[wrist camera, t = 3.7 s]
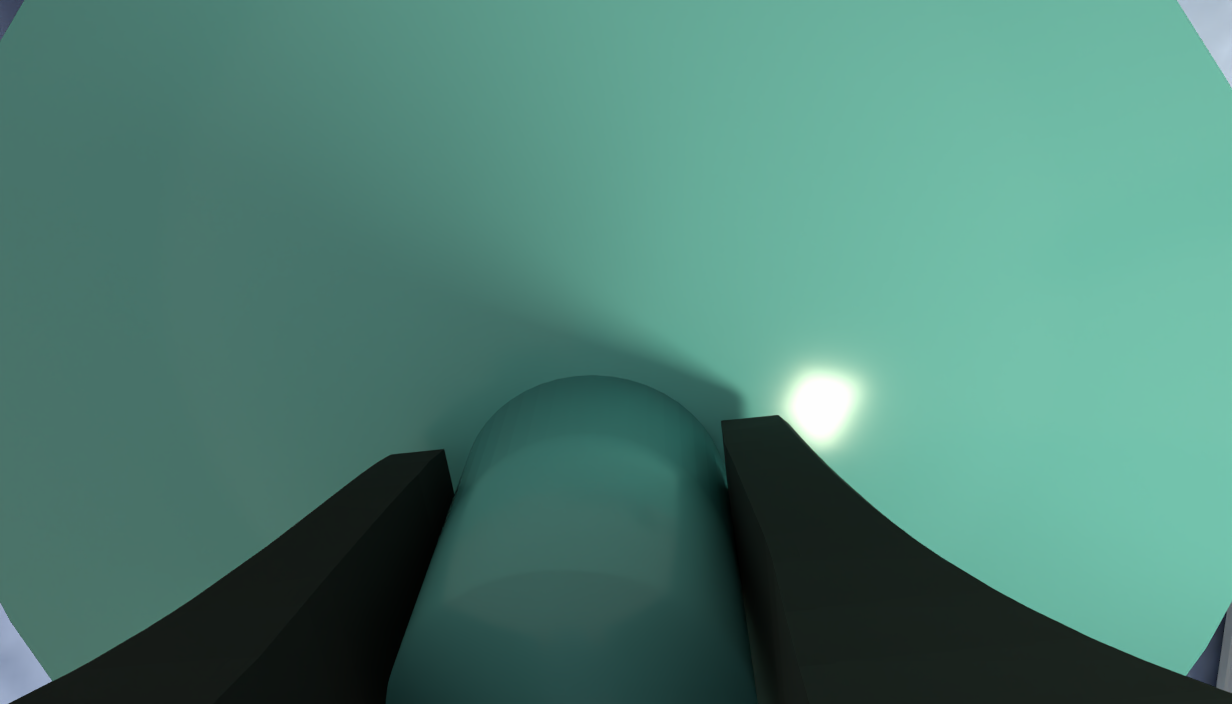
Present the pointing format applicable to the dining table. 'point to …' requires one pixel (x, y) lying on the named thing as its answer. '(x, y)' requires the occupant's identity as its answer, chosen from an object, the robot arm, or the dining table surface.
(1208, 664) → the dining table surface
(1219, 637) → the dining table surface
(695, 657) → the lid
